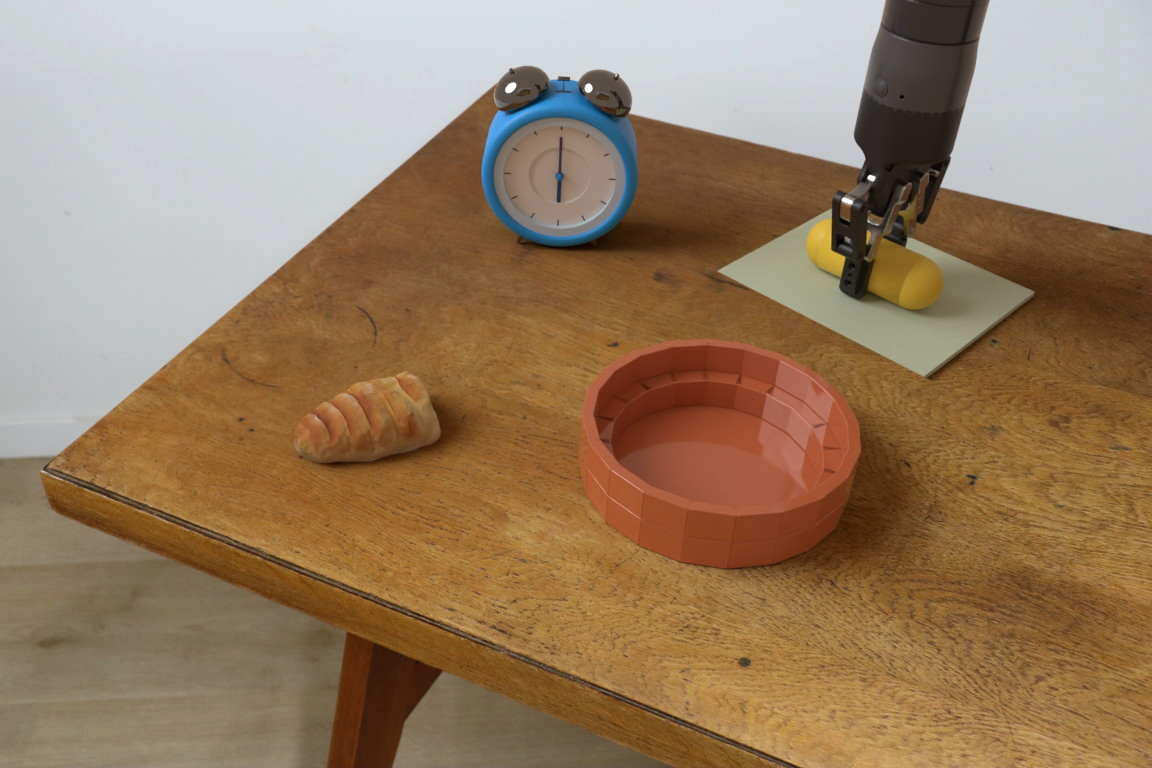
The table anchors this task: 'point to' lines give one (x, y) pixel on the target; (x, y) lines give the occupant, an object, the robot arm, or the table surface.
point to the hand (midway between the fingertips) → (868, 282)
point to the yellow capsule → (883, 269)
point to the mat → (883, 301)
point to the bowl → (717, 452)
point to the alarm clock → (560, 156)
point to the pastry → (369, 422)
